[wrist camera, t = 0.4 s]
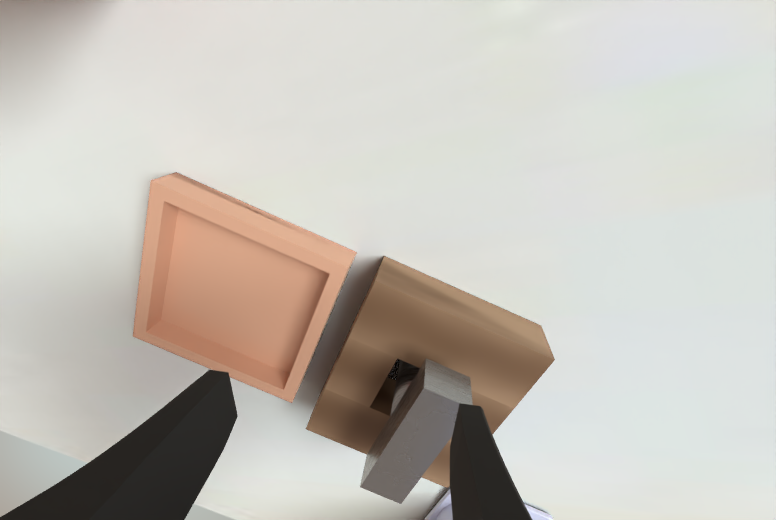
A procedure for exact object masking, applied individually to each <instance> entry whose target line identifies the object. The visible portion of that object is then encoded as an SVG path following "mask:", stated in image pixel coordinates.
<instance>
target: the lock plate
mask: <svg viewBox="0 0 776 520" xmlns="http://www.w3.org/2000/svg"><path fill="white" fill-rule="evenodd" d="M397 358H398V359H400V360H402V361H405V362H407V363H409V364H412V365H414V366H416V367H419V368H420V367H421V366H422V364H423V362H424V361H425V359H426V358H427V359H429V360H431V361H434V362H436V363H438V364H440V365H443V366H445V367H447V368H450V369H452V370H454V371H457V372H459V373H461V374H464V375H466V376H468V377H470V380H471V392H472V403H473V405H476V406H481V407H482V409H483V410H484V414H485V417H486V419H487V422H488V425H489V428H490V430H491V433H492V434H493V433H494V432H495V431H496V430H497V428H498V427H499V426H500V425H501V424H502V422H503V421H504V420H505V419H506V418H507V416H508V415H509V414H510V413H511V412H512V410H513V409H514V408H515V407H516V406H517V404H518V403H519V402H520V401H521V400H522V398H523V397H524V396H525V395H526V394H527V392H528V391H529V390H530V389H531V388H532V386H533V385H534V384H535V383H536V382H537V380H538V379H539V378H540V377H541V376H542V374H543V373H544V372H545V371H546V370H547V368H548V367H549V366H550V365H551V364H552V362H553V361H554V360H555V359H554V357H553V354H552V352H551V349H550V347H549V344H548V342H547V339H546V337H545V334H544V332H543V329H542V327H541V325H538V324H536V323H534V322H532V321H529V320H527V319H525V318H523V317H520V316H518V315H516V314H514V313H511V312H509V311H507V310H505V309H502V308H500V307H498V306H496V305H493V304H491V303H489V302H487V301H484V300H482V299H480V298H478V297H475V296H473V295H471V294H469V293H466V292H464V291H462V290H460V289H457V288H455V287H453V286H451V285H448V284H446V283H444V282H442V281H439V280H437V279H435V278H433V277H430V276H428V275H426V274H424V273H421V272H419V271H417V270H415V269H412V268H410V267H408V266H406V265H403V264H401V263H399V262H397V261H394V260H392V259H390V258H388V257H385V256H384V257H383V260H382V262H381V264H380V266H379V268H378V270H377V273H376V275H375V277H374V279H373V281H372V283H371V285H370V288H369V290H368V292H367V294H366V296H365V298H364V300H363V303H362V305H361V307H360V309H359V311H358V313H357V316H356V318H355V320H354V322H353V324H352V326H351V328H350V331H349V333H348V335H347V337H346V339H345V341H344V343H343V346H342V348H341V350H340V352H339V354H338V356H337V359H336V361H335V363H334V365H333V367H332V369H331V371H330V374H329V376H328V378H327V380H326V382H325V384H324V387H323V389H322V391H321V393H320V395H319V398H318V400H317V403H316V405H315V408H314V410H313V412H312V415H311V417H310V420H309V422H308V425H307V427H306V429H307V430H309V431H312V432H314V433H317V434H319V435H321V436H324V437H326V438H329V439H331V440H333V441H336V442H338V443H341V444H343V445H345V446H348V447H350V448H353V449H355V450H357V451H360V452H362V453H365V454H367V453H368V452H369V450H370V449H371V447H372V445H373V444H374V442H375V440H376V439H377V437H378V436H379V434H380V432H381V431H382V429H383V427H384V426H385V424H386V423H387V421H388V419H389V418H390V415H391V409H392V403H393V397H394V391H395V385H396V380H394V379H391V378H389V377H387V376H388V374H389V372H390V371H391V369H392V367H393V365H394V364H395V362H396V360H397ZM451 439H452V437H451ZM451 439H450V440H449V441H448V443H447V444H446V445H445V446H444V448H443V449H442V450H441V452H440V453H439V454H438V456H437V457H436V458H435V460H434V461H433V462H432V464H431V465H430V466H429V468H428V469H427V470H426V472H425V473H424V474H423V475H422V478H425V479H427V480H430V481H432V482H434V483H437V484H439V485H442V486H444V487H447V488H448V487H449V486H450V444H451Z"/></svg>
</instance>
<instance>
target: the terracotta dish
mask: <svg viewBox="0 0 776 520" xmlns="http://www.w3.org/2000/svg"><path fill="white" fill-rule="evenodd" d="M356 254H357V252H355V251H353V250H350V249H348V248H346V247H344V246H341V245H339V244H337V243H334V242H332V241H330V240H328V239H325V238H323V237H321V236H319V235H316V234H314V233H312V232H310V231H307V230H305V229H303V228H301V227H298V226H296V225H294V224H292V223H289V222H287V221H285V220H283V219H280V218H278V217H276V216H274V215H271V214H269V213H267V212H265V211H262V210H260V209H258V208H256V207H253V206H251V205H249V204H247V203H244V202H242V201H240V200H238V199H235V198H233V197H231V196H229V195H226V194H224V193H222V192H220V191H217V190H215V189H213V188H210V187H208V186H206V185H204V184H201V183H199V182H197V181H195V180H192V179H190V178H188V177H186V176H183V175H181V174H179V173H177V172H176V173H173V174H170V175H166V176H163V177H160V178H157V179H154V180H151V184H150V193H149V201H148V210H147V218H146V227H145V236H144V244H143V253H142V261H141V270H140V279H139V287H138V296H137V304H136V313H135V321H134V330H133V337H136V338H138V339H140V340H143V341H145V342H148V343H150V344H152V345H155V346H157V347H159V348H162V349H164V350H167V351H169V352H171V353H174V354H176V355H179V356H181V357H183V358H186V359H188V360H191V361H193V362H195V363H198V364H200V365H203V366H205V367H207V368H210V369H212V370H215V371H223V372H228V373H229V377H231V378H234V379H236V380H238V381H241V382H243V383H246V384H248V385H250V386H253V387H255V388H257V389H260V390H262V391H265V392H267V393H269V394H272V395H274V396H277V397H279V398H281V399H284V400H286V401H289V402H291V403H292V402H293V400H294V398H295V395H296V393H297V391H298V389H299V387H300V385H301V383H302V381H303V379H304V376H305V374H306V372H307V369H308V367H309V365H310V362H311V360H312V357H313V355H314V353H315V350H316V348H317V346H318V343H319V341H320V339H321V336H322V334H323V331H324V329H325V327H326V324H327V322H328V320H329V317H330V315H331V313H332V310H333V308H334V305H335V303H336V301H337V298H338V296H339V294H340V291H341V289H342V287H343V284H344V282H345V279H346V277H347V275H348V272H349V270H350V268H351V265H352V263H353V261H354V258H355V256H356Z"/></svg>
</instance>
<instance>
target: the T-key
mask: <svg viewBox="0 0 776 520" xmlns="http://www.w3.org/2000/svg"><path fill="white" fill-rule="evenodd" d="M460 403H461V404H469V405H473V403H472V392H471V380H470V377H468V376H466V375H464V374H461V373H459V372H457V371H454V370H452V369H450V368H447V367H445V366H443V365H440V364H438V363H436V362H434V361H431V360H429V359H427V358H426V359H425V361H424V362H423V364H422V366H421V367H420V368H419V367H416V366H414V365H412V364H409V363H407V362H405V361H402V360H400V361H399V367H398V373H397V379H396V385H395V391H394V397H393V403H392V409H391V415H390V418H389V419H388V421H387V423H386V424H385V426H384V427H383V429H382V431H381V432H380V434H379V436H378V437H377V439H376V440H375V442H374V444H373V445H372V447H371V449H370V450H369V452H368V453H367V457H366V462H365V466H364V471H363V476H362V480H361V485H360V487H361V488H364V489H366V490H369V491H371V492H373V493H376V494H378V495H381V496H383V497H386V498H388V499H390V500H393V501H395V502H398V503H400V504H401V503H402V502H403V501H404V499H405V498H406V497H407V495H408V494H409V493H410V491H411V490H412V489H413V487H414V486H415V485H416V483H417V482H418V481H419V479H420V478H421V477H422V475H423V474H424V473H425V472H426V470H427V469H428V468H429V466H430V465H431V464H432V462H433V461H434V460H435V458H436V457H437V456H438V454H439V453H440V452H441V450H442V449H443V448H444V446H445V445H446V444H447V443H448V441H449V440H450V439H451V437H452V435H453V430H454V426H455V421H456V417H457V412H458V408H459V404H460Z"/></svg>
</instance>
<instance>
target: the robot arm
mask: <svg viewBox="0 0 776 520" xmlns="http://www.w3.org/2000/svg"><path fill="white" fill-rule="evenodd" d="M236 419H237V411H236V406H235V401H234V397H233V392H232V387H231V382H230V377H229V373H228V372H223V371H215V370H209V371H208V372H206V373H205V374H204V375H203V376H201V377H200V378H199V379H198V380H196V381H195V382H194V383H193V384H191V385H190V386H189V387H188V388H187V389H185V390H184V391H183V392H182V393H180V394H179V395H178V396H177V397H175V398H174V399H173V400H172V401H171V402H169V403H168V404H167V405H166V406H164V407H163V408H162V409H161V410H159V411H158V412H157V413H155V414H154V415H153V416H152V417H150V418H149V419H148V420H147V421H145V422H144V423H143V424H141V425H140V426H139V427H138V428H136V429H135V430H134V431H132V432H131V433H130V434H128V435H127V436H125V437H124V438H123V439H121V440H120V441H119V442H117V443H116V444H115V445H113V446H112V447H110V448H109V449H108V450H106V451H105V452H104V453H102V454H101V455H99V456H98V457H96V458H95V459H94V460H92V461H91V462H89V463H88V464H86V465H85V466H83V467H82V468H80V469H79V470H77V471H76V472H74V473H73V474H71V475H70V476H68V477H67V478H65V479H63V480H62V481H60V482H59V483H57V484H56V485H54V486H52V487H51V488H49V489H48V490H46V491H44V492H42V493H41V494H39V495H37V496H36V497H34V498H32V499H30V500H29V501H27V502H26V503H24V504H22V505H20V506H19V507H17V508H15V509H14V510H12V511H10V512H8V513H7V514H5V515H3V516H2V517H0V520H184V519H185V518H186V516H187V514H188V512H189V510H190V509H191V507H192V505H193V503H194V502H195V500H196V498H197V496H198V494H199V493H200V491H201V489H202V487H203V486H204V484H205V482H206V480H207V479H208V477H209V475H210V473H211V471H212V470H213V468H214V466H215V464H216V462H217V460H218V459H219V457H220V455H221V453H222V451H223V449H224V447H225V445H226V443H227V440H228V438H229V436H230V433H231V431H232V428H233V426H234V424H235V421H236ZM424 520H553V517H552V516H551V515H550V514H547V513H545V512H543V511H540V510H538V509H535V508H533V507H531V506H528V505H526V504H524V503H523V501H522V499H521V497H520V495H519V493H518V491H517V489H516V487H515V485H514V483H513V481H512V478H511V476H510V474H509V472H508V470H507V468H506V466H505V464H504V461H503V459H502V457H501V455H500V452H499V450H498V448H497V445H496V443H495V440H494V438H493V435H492V433H491V430H490V428H489V425H488V422H487V419H486V417H485V414H484V410H483V409H482V407H481V406H476V405H469V404H461V403H460V404H459V408H458V412H457V417H456V421H455V426H454V430H453V435H452V439H451V444H450V489H449V490H448V491H447V493H446V494H445V495H444V496H443V497H442V498H441V500H440V501H439V502H438V503H437V504H436V506H435V507H434V508H433V509H432V510H431V512H430V513H429V514H428V515H427V516H426V517H425V519H424Z"/></svg>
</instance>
